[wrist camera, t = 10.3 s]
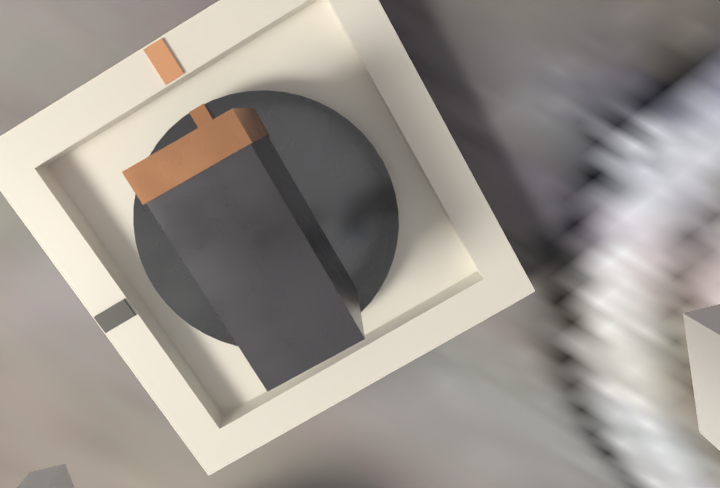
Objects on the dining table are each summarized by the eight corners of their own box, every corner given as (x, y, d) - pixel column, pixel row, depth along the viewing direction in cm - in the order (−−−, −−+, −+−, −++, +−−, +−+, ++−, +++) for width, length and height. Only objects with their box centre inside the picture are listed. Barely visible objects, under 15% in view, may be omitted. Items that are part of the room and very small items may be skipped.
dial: (438, 265, 33) (476, 320, 25) (228, 380, 34) (196, 470, 26) (317, 41, 30) (314, 17, 22) (91, 172, 31) (4, 196, 23)
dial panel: (337, -60, 30) (338, -75, 28) (520, 278, 35) (536, 291, 32) (-1, 149, 32) (-29, 153, 29) (216, 450, 36) (208, 476, 33)
